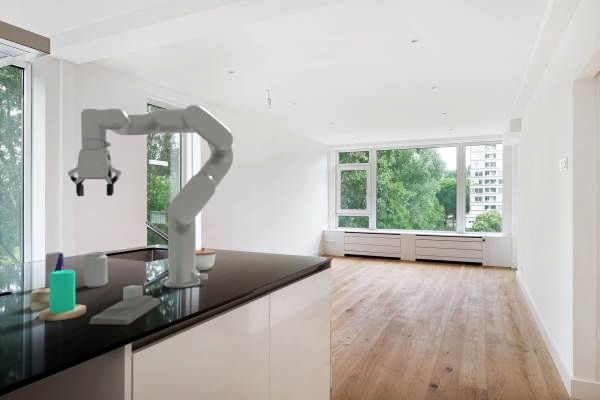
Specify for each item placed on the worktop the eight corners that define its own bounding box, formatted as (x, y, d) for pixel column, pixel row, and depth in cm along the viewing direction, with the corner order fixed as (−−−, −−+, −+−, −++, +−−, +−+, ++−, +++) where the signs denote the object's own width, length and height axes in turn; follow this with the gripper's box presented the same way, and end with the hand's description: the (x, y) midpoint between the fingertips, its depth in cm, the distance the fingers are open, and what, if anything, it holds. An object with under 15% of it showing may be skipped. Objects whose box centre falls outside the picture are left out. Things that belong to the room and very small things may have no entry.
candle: (56, 314, 102) (56, 268, 101) (45, 310, 105) (44, 266, 105) (79, 308, 107) (79, 265, 107) (68, 305, 110) (67, 263, 110)
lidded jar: (193, 266, 177) (192, 246, 177) (216, 266, 178) (216, 245, 178) (188, 271, 167) (188, 249, 166) (214, 270, 168) (213, 249, 168)
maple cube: (56, 304, 116) (56, 287, 116) (51, 308, 112) (50, 291, 112) (37, 305, 115) (36, 288, 115) (30, 310, 110) (30, 292, 110)
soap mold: (88, 326, 97) (88, 312, 97) (128, 304, 117) (128, 292, 117) (127, 327, 97) (127, 313, 97) (161, 304, 117) (161, 293, 117)
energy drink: (67, 285, 140) (66, 252, 140) (52, 289, 135) (51, 254, 135) (57, 284, 142) (57, 251, 142) (42, 287, 137) (42, 253, 137)
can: (97, 288, 136) (97, 254, 136) (79, 287, 137) (78, 253, 137) (112, 283, 143) (111, 251, 143) (94, 282, 145) (94, 250, 145)
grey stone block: (142, 298, 122) (142, 285, 122) (133, 301, 119) (133, 288, 119) (132, 297, 124) (132, 285, 124) (123, 300, 120) (123, 287, 120)
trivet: (93, 308, 111) (93, 304, 111) (72, 320, 100) (72, 315, 100) (54, 308, 111) (54, 304, 111) (29, 321, 100) (29, 316, 100)
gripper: (124, 147, 137) (125, 195, 137) (73, 147, 136) (74, 196, 136) (115, 144, 130) (116, 195, 130) (62, 144, 128) (63, 196, 129)
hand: (95, 195), depth 133 cm, fingers open, 9 cm apart
